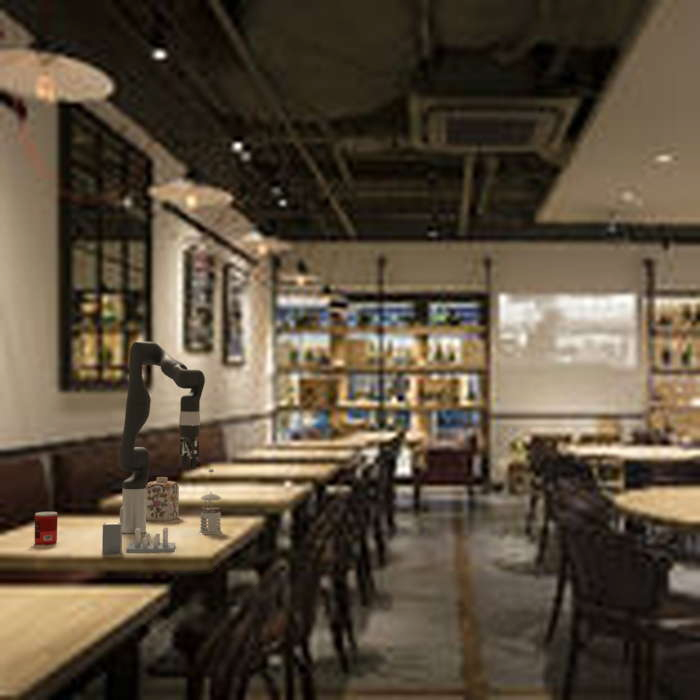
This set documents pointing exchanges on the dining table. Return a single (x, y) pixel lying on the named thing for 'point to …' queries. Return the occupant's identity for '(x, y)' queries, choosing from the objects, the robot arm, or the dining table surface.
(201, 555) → the dining table surface
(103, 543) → the block
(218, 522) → the french press
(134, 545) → the grey peg board
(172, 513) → the decorative jar
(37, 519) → the canned food
